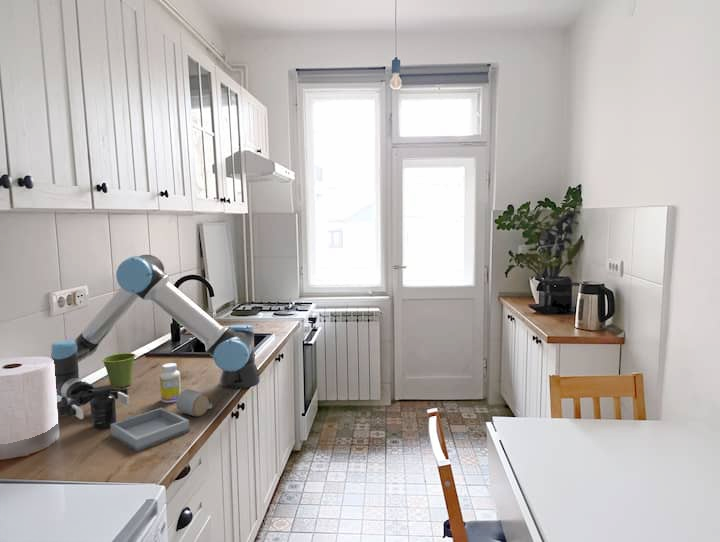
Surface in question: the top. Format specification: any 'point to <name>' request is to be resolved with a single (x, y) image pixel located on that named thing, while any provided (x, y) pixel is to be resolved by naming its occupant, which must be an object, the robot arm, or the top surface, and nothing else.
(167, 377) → the supplement bottle
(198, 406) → the ceramic mug
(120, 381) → the plant pot
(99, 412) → the supplement bottle
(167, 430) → the tray
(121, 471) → the top surface
